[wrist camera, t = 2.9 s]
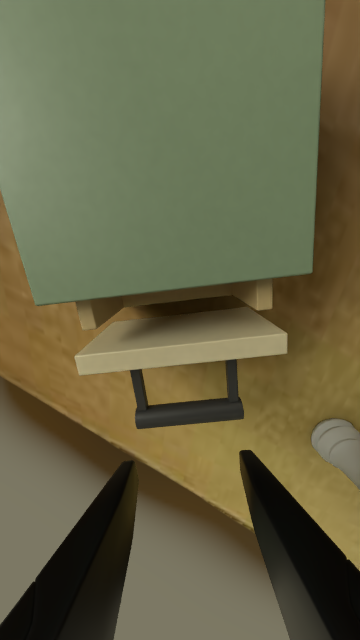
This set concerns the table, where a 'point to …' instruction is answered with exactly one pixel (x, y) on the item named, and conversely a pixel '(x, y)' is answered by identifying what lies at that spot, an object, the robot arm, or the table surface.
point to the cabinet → (159, 142)
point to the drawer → (181, 345)
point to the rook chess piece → (339, 446)
